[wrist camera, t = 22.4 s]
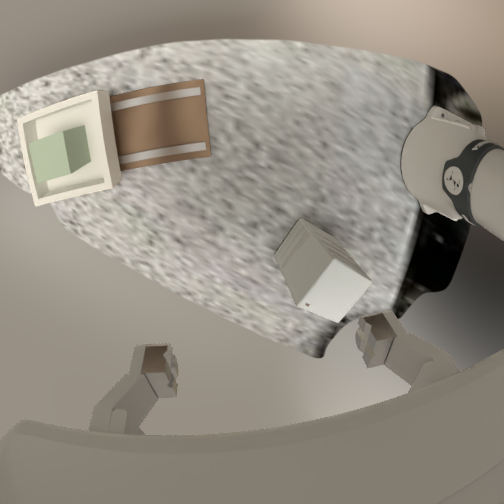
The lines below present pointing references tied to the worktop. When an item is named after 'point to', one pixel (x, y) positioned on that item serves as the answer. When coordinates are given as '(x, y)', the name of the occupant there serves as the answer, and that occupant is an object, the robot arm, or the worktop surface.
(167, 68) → the worktop surface
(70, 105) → the square white tray
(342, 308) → the supplement box
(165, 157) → the track
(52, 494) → the robot arm
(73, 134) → the block
